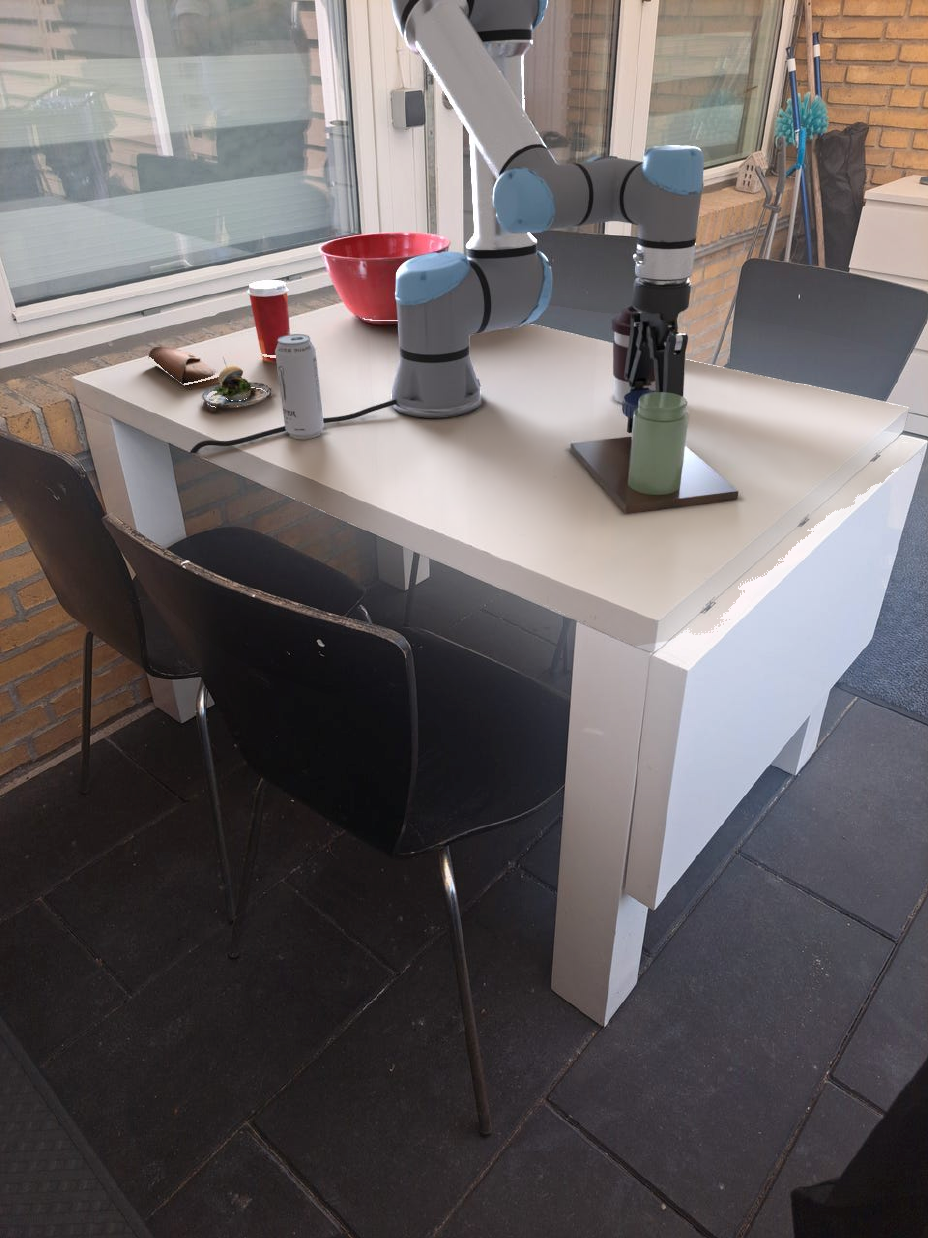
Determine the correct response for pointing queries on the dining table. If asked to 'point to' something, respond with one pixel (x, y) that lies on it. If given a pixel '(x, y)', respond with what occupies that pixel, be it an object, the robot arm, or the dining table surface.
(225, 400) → the burger
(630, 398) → the lid
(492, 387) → the dining table surface
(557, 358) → the dining table surface
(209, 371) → the sunglasses case
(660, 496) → the board
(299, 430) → the energy drink can
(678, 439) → the jar
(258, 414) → the dining table surface
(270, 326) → the paper cup
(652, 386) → the coffee cup
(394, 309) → the mixing bowl
